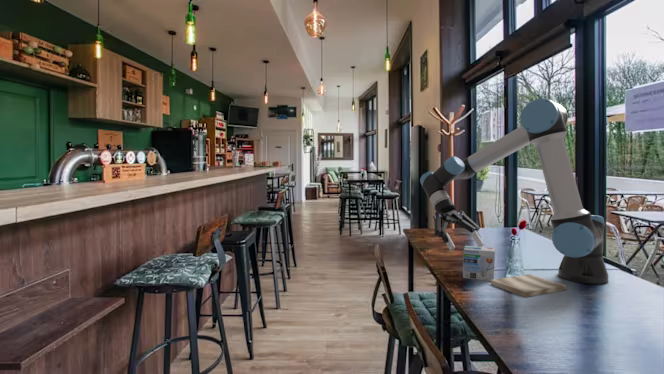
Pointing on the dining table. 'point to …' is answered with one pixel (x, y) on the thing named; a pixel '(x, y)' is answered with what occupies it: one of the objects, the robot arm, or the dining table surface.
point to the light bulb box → (479, 263)
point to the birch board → (528, 285)
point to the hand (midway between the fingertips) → (467, 247)
